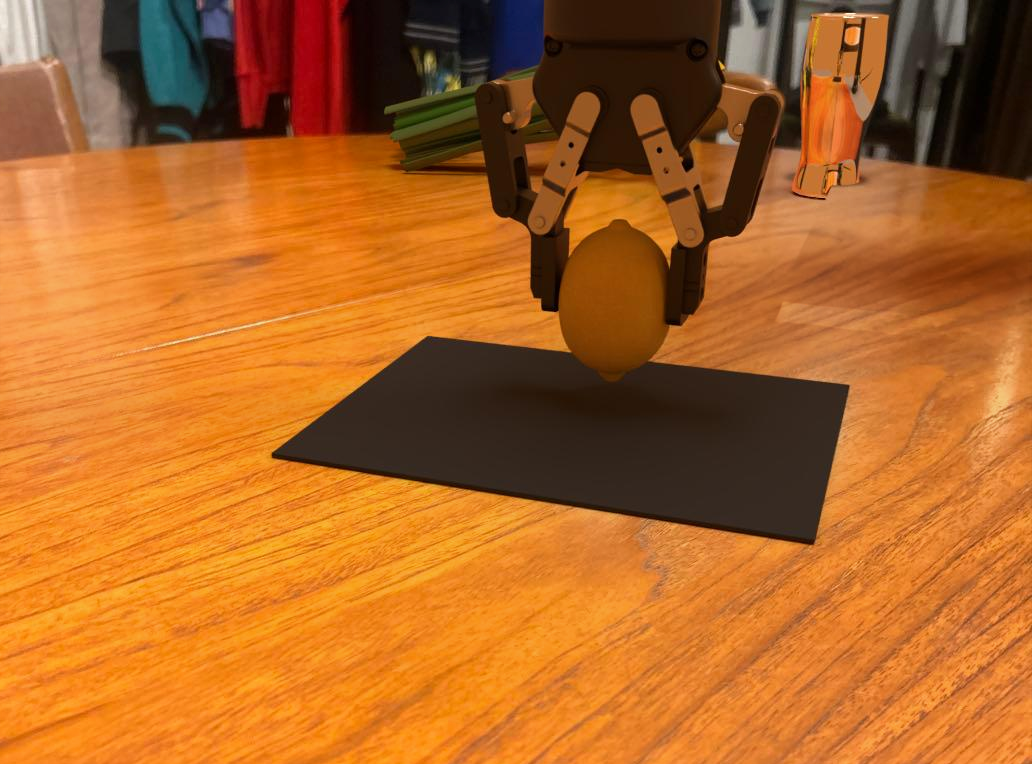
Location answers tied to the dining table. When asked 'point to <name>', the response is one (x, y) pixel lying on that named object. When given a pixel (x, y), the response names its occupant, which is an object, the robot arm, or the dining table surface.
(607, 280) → the lemon
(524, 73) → the daffodil flowers
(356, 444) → the felt mat
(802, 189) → the beer glass
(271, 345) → the dining table surface
